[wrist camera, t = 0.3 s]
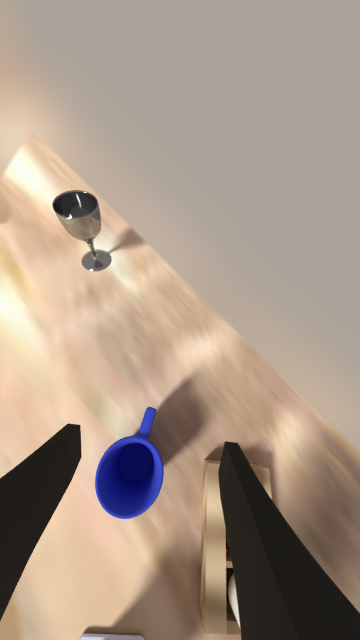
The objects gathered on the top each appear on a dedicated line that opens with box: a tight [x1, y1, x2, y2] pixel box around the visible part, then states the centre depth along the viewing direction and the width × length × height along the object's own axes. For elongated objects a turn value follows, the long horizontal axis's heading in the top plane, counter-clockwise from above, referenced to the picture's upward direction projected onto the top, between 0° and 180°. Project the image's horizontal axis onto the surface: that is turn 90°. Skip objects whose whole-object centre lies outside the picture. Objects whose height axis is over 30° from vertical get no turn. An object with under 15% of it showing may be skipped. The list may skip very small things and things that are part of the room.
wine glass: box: [52, 190, 111, 271], centre depth 44 cm, size 8×8×15 cm
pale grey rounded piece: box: [228, 573, 240, 627], centre depth 25 cm, size 4×4×3 cm
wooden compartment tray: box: [200, 460, 272, 635], centre depth 30 cm, size 17×10×3 cm, turn 175°
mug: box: [95, 407, 163, 519], centre depth 30 cm, size 8×12×10 cm
